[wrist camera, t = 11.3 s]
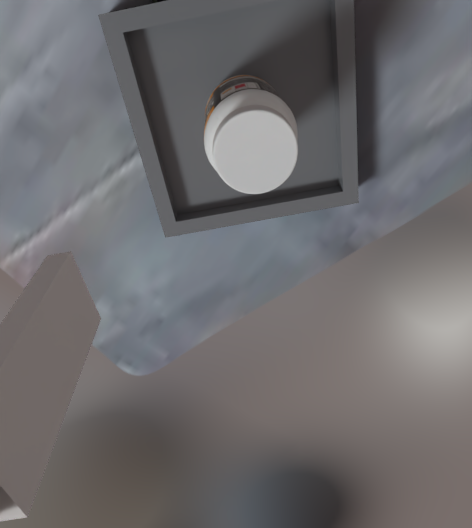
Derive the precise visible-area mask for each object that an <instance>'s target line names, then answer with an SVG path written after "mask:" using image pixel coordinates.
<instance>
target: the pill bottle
mask: <svg viewBox="0 0 472 528" xmlns="http://www.w3.org/2000/svg"><path fill="white" fill-rule="evenodd" d="M297 138H298V132H297V125H296V120H295V117H294V115H293V113H292V111H291V109H290V108H289V106H288V105H287V104H286V103H285V102H284V100H283V99H282V98H281V97H280V96H279V95H278V93H277V92H276V91H275V89H274V88H273V87H272V86H270V85H269V84H268V83H267V82H265V81H264V80H262V79H260V78H258V77H255V76H251V75H238V76H234V77H231V78H229V79H226V80H225V81H223V82H222V83H221V84H219V85H218V86H217V87H216V88H215V89H214V91H213V92H212V94H211V96H210V98H209V100H208V102H207V105H206V110H205V126H204V146H205V152H206V155H207V158H208V160H209V162H210V164H211V165H212V166H213V168H214V169H215V170H216V171H217V172H218V174H219V176H220V177H221V178H222V180H223V181H224V182H225V183H226V184H227V185H229V186H230V187H232V188H233V189H235V190H237V191H239V192H243V193H247V194H261V193H266V192H269V191H271V190H273V189H275V188H277V187H278V186H280V185H281V184H282V183H284V182H285V181H286V180H287V179H288V177H289V176H290V175H291V173H292V171H293V169H294V167H295V165H296V162H297V157H298V142H297Z"/></svg>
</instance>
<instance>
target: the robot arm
mask: <svg viewBox="0 0 472 528" xmlns="http://www.w3.org/2000/svg"><path fill="white" fill-rule="evenodd" d="M100 320H101V318H100V315H99V313H98V311H97V309H96V306H95V304H94V302H93V300H92V298H91V295H90V293H89V291H88V289H87V286H86V284H85V282H84V280H83V278H82V275H81V273H80V271H79V269H78V266H77V264H76V262H75V260H74V258H73V255H72V253H71V251H70V252H65V253H59V254H54V255H48V256H47V257H46V258H45V260H44V261H43V263H42V264H41V266H40V267H39V269H38V270H37V272H36V273H35V274H34V276H33V277H32V279H31V280H30V282H29V283H28V285H27V286H26V287H25V289H24V290H23V292H22V293H21V295H20V296H19V298H18V299H17V301H16V302H15V304H14V305H13V306H12V308H11V309H10V311H9V312H8V314H7V315H6V317H5V318H4V319H3V321H2V322H1V324H0V521H5V520H12V519H19V518H26V517H28V514H29V511H30V509H31V506H32V503H33V501H34V498H35V495H36V493H37V490H38V487H39V484H40V481H41V479H42V477H43V474H44V471H45V468H46V466H47V463H48V460H49V458H50V455H51V452H52V450H53V447H54V444H55V441H56V439H57V436H58V433H59V431H60V428H61V425H62V423H63V420H64V417H65V414H66V412H67V409H68V406H69V404H70V401H71V398H72V395H73V393H74V390H75V387H76V385H77V382H78V379H79V377H80V374H81V371H82V369H83V366H84V363H85V360H86V358H87V355H88V352H89V350H90V347H91V344H92V342H93V339H94V336H95V334H96V331H97V328H98V325H99V323H100Z"/></svg>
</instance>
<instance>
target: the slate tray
mask: <svg viewBox="0 0 472 528" xmlns="http://www.w3.org/2000/svg"><path fill="white" fill-rule="evenodd" d="M98 16H99V19H100V22H101V26H102V29H103V32H104V36H105V39H106V42H107V46H108V49H109V52H110V56H111V59H112V62H113V65H114V69H115V72H116V75H117V79H118V82H119V85H120V89H121V92H122V95H123V99H124V102H125V105H126V109H127V112H128V115H129V119H130V122H131V125H132V128H133V132H134V135H135V138H136V142H137V145H138V148H139V152H140V155H141V158H142V162H143V165H144V168H145V172H146V175H147V178H148V182H149V185H150V188H151V191H152V195H153V198H154V201H155V205H156V208H157V211H158V215H159V218H160V221H161V225H162V228H163V231H164V235H165V237H171V236H176V235H182V234H188V233H193V232H199V231H204V230H210V229H215V228H221V227H226V226H232V225H238V224H243V223H249V222H254V221H260V220H265V219H271V218H276V217H282V216H288V215H293V214H299V213H304V212H310V211H315V210H321V209H326V208H332V207H338V206H343V205H349V204H354V203H359V201H358V155H357V109H356V63H355V17H354V0H167V1H162V2H157V3H153V4H148V5H143V6H138V7H134V8H129V9H124V10H119V11H115V12H110V13H105V14H100V15H98ZM238 75H251V76H255V77H258V78H260V79H262V80H264V81H265V82H267V83H268V84H269V85H270V86H272V87H273V88H274V89H275V91H276V92H277V93H278V95H279V96H280V97H281V98H282V99H283V100H284V102H285V103H286V104H287V105H288V106H289V108H290V109H291V111H292V113H293V115H294V117H295V120H296V125H297V132H298V138H297V142H298V157H297V162H296V165H295V167H294V169H293V171H292V173H291V175H290V176H289V177H288V179H287V180H286V181H285V182H284V183H282V184H281V185H280V186H278V187H277V188H275V189H273V190H271V191H269V192H266V193H261V194H247V193H243V192H239V191H237V190H235V189H233V188H232V187H230V186H229V185H227V184H226V183H225V182H224V181H223V180H222V178H221V177H220V176H219V174H218V172H217V171H216V170H215V169H214V168H213V166H212V165H211V164H210V162H209V160H208V158H207V155H206V152H205V146H204V126H205V110H206V105H207V102H208V100H209V98H210V96H211V94H212V92H213V91H214V89H215V88H216V87H217V86H218V85H219V84H221V83H222V82H223V81H225V80H226V79H229V78H231V77H234V76H238Z"/></svg>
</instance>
